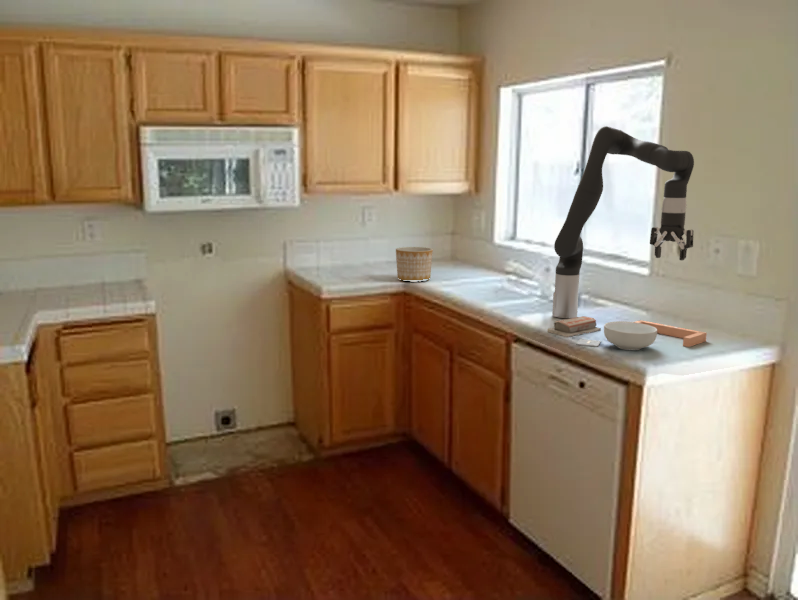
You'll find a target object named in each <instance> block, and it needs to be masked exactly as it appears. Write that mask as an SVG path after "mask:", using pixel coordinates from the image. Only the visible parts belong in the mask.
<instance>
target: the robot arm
mask: <svg viewBox="0 0 798 600" xmlns="http://www.w3.org/2000/svg"><path fill="white" fill-rule="evenodd" d="M608 154H610V155H618V156H619V155H622V156H629V157H633V158H635V159H637V160H638V161H640V162H643V163H645V164H649V165H652V166H656V168H659V169H660V170H661V171H664V172H668V173H673V176H672V177H671V179H668V180H667V181H665V182H664V188H663V199H662V206H661V215H660V227H658V226H654V227H652V228H651V230H650V238H649V244H650V245H652V246H654V257H655V258H656V259H660V258H661V256H662V245H663V244H664V243H665V242H672V243H674V242H675V243H676V244H677V245H678V246H679V248H680V249H679V258H678V259H679V261H684V260H685V259H687V252H688V249H690V248H693V247H694V230H693V229H685V225H686V224H685V223H686V212H687V191H688V189H687V188H688V184H689V182H690V179H691V177H692V172H693V170H694V166H695V159H694V155H693V153H691V151H688V150H673V149H668V147H666V146H664V145H663V144H660V143H659V144H658V143H655V142H651V141H646V140H641V139H638V138H636V137H633V136H632V135H630V134H629V133H627V132H625V131H623V130H621V129H619V128H614V127H611V126H607V125H606V126H605V125H604V126H602V127H601V128H599V129H598V131H597V132H596V134H595V135H594V138H593V142H592V144H591V149H590V151H589V154H588V158H587V162H586V165H585V166H584V170H583V173H582V176H581V179H580V181H579V183H578V186H577V188H576V191H575V193H574V196H573V199H572V202H571V204H570V206H569V209H568V212H567V215H566V218H565V221H564V223H563V225H562V226H561V227H562V228H561V229H560V231H559V233H558V234H557V236H556V239H555V240H554V244H553V246H554V247H553V248H554V252H555V254H556V255H557V256H558V257H559V260H558V263H557V264H556V267H555V278H554V279H555V280H554V292H553V294H552V310H551V311H552V315H551V316H552V317H555V318H558V319H571V318H576V317H578V310H579V309H578V308H579V307H578V305H579V290H580V289H579V288H580V286H579V285H580V271H581V268H582V264H583V255H584V241H583V239H582V237H581V236H580V235H581V234H582V233H581V232H582V231H583V228H584V226H585V225H586V223H587V221H588V220H589V219H590V218H591V216H592V214H593V213H594V211H595V210H596V208H597V206H598V203H599V202H600V199H601V196H602V194H603V191H604V177H603V167H604V163H605V161H606V160H605V159H606V157H607V155H608ZM659 233H660V236H659V238H658V234H659ZM683 236H685V237H686V239H684V237H683Z"/></svg>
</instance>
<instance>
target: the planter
mask: <svg viewBox="0 0 798 600" xmlns="http://www.w3.org/2000/svg"><path fill="white" fill-rule="evenodd" d="M433 251H434V249H433V248H431V247H424V246H402V247H397V248H395V259H396V272H397V273H396V276H397V279H398V278H399V279H401V280H423V279H429V278H430V279H431V275H432V273H431V272H432V264H433V263H432V261H433V253H434V252H433ZM399 279H398V280H399ZM430 279H429V280H430Z"/></svg>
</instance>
